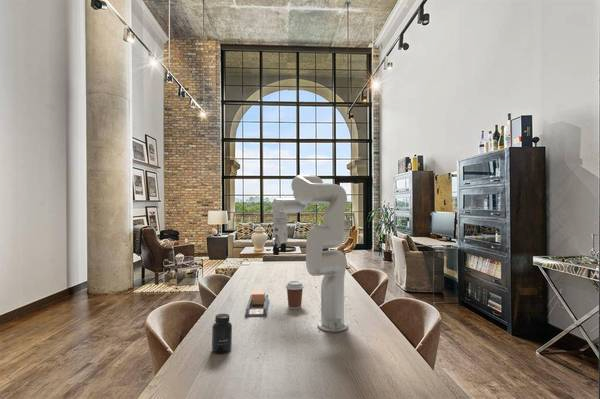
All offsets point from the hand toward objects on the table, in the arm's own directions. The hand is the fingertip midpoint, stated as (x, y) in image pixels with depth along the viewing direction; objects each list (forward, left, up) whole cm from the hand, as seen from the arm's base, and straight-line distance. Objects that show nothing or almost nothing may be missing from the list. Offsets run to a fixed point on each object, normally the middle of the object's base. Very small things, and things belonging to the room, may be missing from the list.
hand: (279, 253), depth 178 cm
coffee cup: (-15, -8, -24) cm, 29 cm away
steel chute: (-17, +10, -24) cm, 31 cm away
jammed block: (-12, +10, -23) cm, 28 cm away
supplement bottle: (-61, +19, -24) cm, 68 cm away
